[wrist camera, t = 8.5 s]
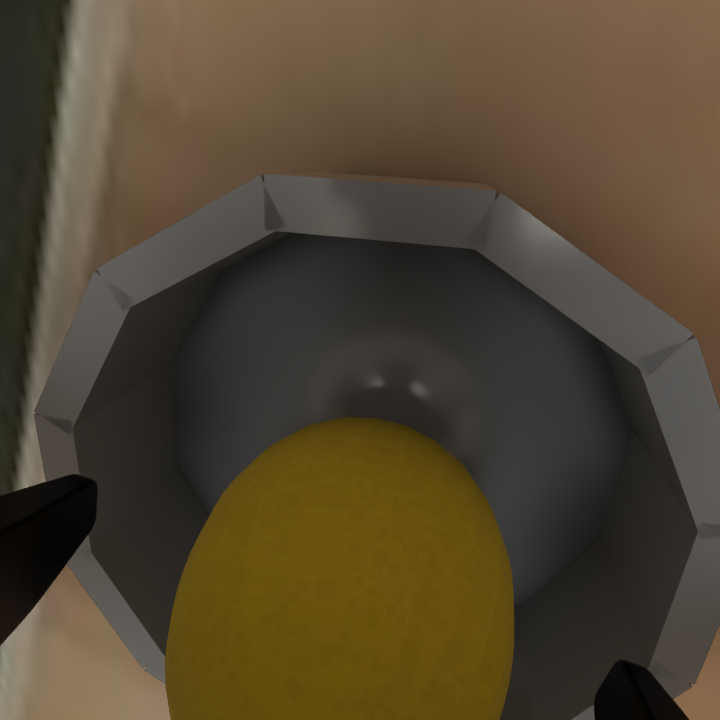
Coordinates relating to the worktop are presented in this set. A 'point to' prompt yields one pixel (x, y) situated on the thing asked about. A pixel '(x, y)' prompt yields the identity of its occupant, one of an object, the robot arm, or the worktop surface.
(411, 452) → the lemon
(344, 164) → the worktop surface
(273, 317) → the bowl
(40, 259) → the worktop surface
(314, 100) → the worktop surface
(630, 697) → the robot arm
